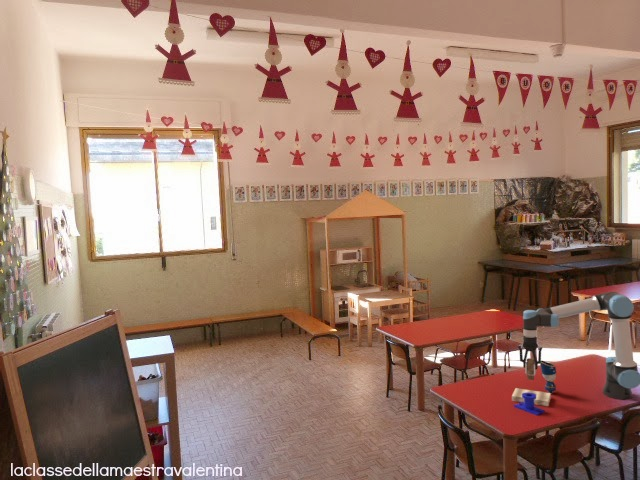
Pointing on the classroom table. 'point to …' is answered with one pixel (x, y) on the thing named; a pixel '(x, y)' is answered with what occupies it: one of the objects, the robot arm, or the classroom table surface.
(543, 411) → the mount
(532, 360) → the peg
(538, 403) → the board
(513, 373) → the classroom table surface
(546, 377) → the blue tall vessel
